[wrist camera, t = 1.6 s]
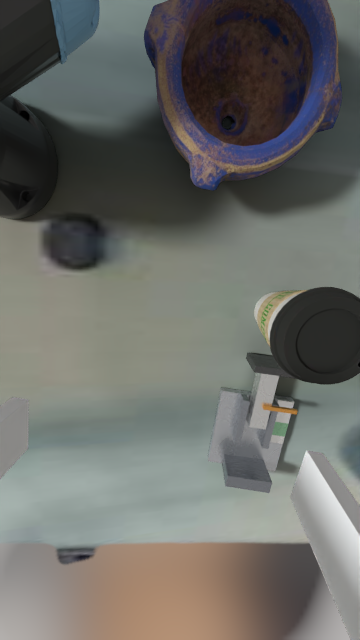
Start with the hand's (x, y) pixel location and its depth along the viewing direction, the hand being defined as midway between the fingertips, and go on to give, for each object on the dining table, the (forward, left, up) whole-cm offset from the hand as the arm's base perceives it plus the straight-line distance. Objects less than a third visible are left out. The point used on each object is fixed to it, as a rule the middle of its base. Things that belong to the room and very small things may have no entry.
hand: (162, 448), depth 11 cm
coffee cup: (-3, +14, -27) cm, 30 cm away
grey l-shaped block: (+18, +14, -27) cm, 35 cm away
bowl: (-27, +3, -27) cm, 39 cm away
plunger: (+9, +15, -26) cm, 31 cm away
